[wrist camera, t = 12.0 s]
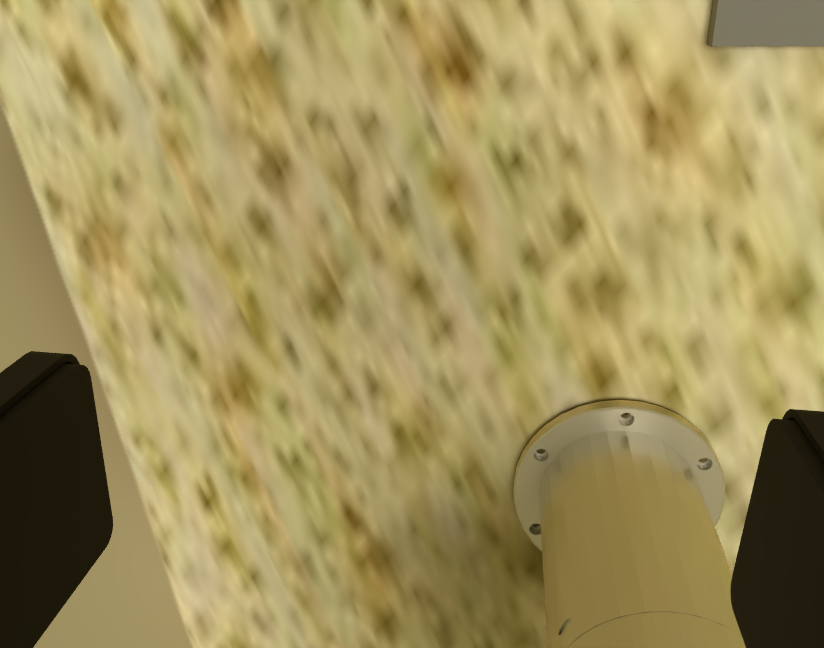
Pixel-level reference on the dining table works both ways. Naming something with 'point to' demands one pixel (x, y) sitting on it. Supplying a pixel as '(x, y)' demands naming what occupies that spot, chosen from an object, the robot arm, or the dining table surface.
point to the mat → (767, 23)
